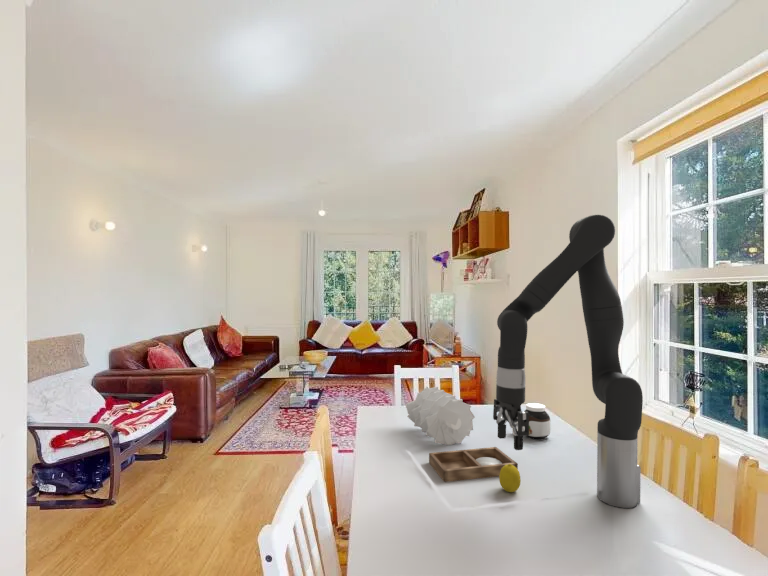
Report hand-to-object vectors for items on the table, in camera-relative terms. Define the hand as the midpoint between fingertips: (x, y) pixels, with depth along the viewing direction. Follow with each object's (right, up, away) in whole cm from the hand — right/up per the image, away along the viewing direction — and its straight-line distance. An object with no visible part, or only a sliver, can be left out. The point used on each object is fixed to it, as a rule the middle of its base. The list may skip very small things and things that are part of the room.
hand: (509, 443), depth 111 cm
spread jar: (+21, -14, +43) cm, 50 cm away
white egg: (-2, -13, +15) cm, 20 cm away
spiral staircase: (-14, -14, +41) cm, 45 cm away
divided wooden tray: (-7, -14, +14) cm, 21 cm away
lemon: (0, -14, 0) cm, 14 cm away
